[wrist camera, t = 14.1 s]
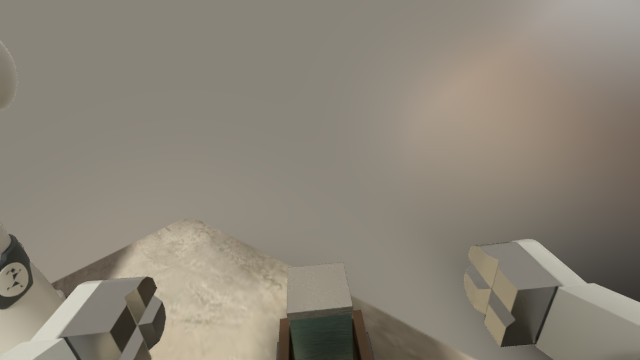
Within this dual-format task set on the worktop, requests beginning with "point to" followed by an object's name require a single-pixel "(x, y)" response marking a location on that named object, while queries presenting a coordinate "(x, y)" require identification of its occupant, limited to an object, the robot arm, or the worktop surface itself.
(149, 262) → the worktop surface
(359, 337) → the open wooden box
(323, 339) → the tea tin
